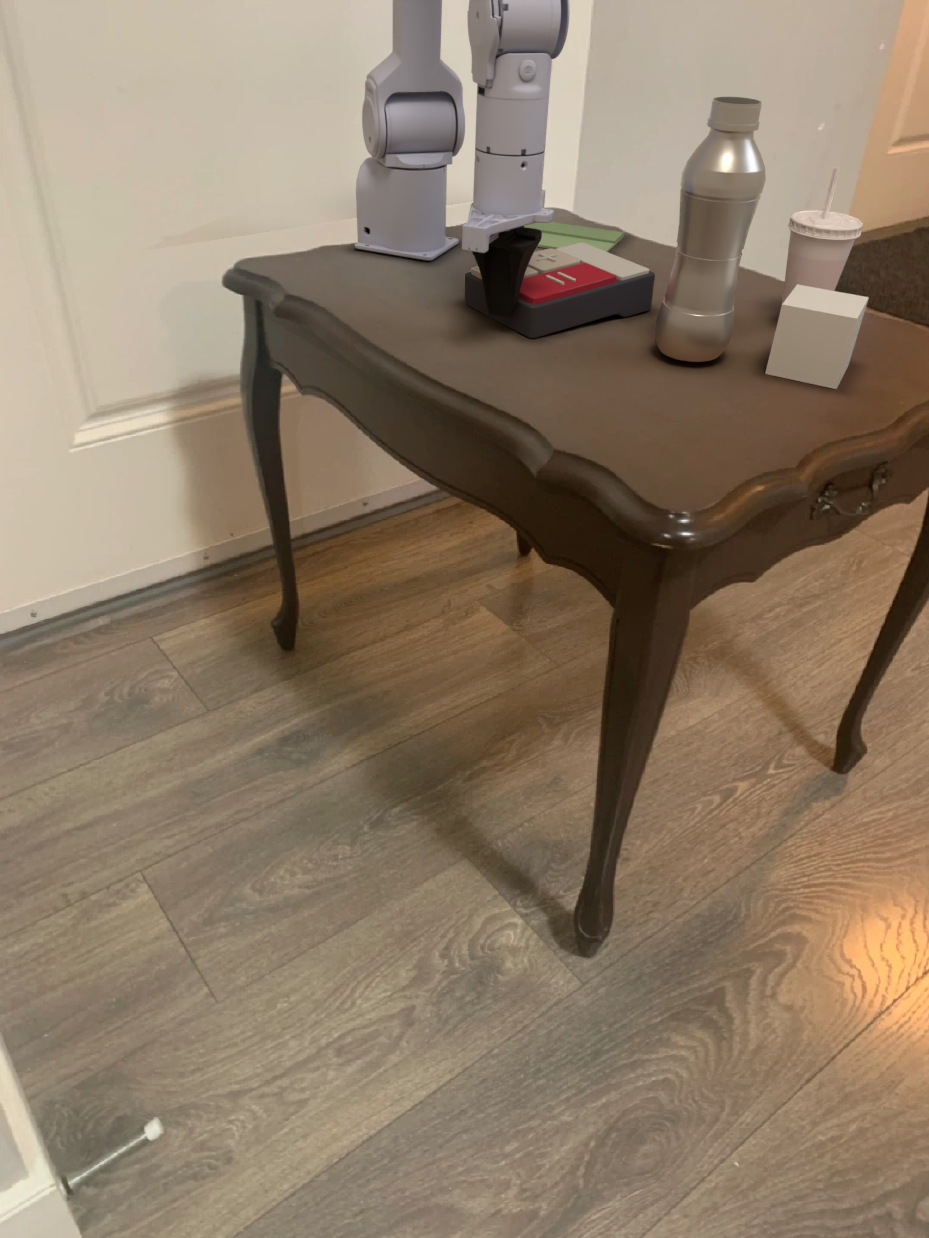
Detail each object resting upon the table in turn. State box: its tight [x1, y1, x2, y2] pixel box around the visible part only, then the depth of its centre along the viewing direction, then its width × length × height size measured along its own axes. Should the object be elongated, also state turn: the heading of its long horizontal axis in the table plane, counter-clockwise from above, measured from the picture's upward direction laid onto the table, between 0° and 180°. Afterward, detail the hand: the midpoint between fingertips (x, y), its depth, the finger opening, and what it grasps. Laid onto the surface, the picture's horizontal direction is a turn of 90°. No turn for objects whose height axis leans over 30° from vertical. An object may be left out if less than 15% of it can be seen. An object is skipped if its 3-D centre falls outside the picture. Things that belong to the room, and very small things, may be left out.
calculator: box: [464, 242, 656, 339], centre depth 90 cm, size 11×4×15 cm
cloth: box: [524, 221, 625, 253], centre depth 110 cm, size 14×9×1 cm, turn 67°
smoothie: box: [781, 166, 864, 305], centre depth 85 cm, size 6×6×14 cm
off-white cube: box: [764, 284, 870, 390], centre depth 79 cm, size 6×6×6 cm
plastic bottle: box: [654, 96, 767, 363], centre depth 76 cm, size 6×7×20 cm
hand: (500, 314), depth 84 cm, fingers closed
